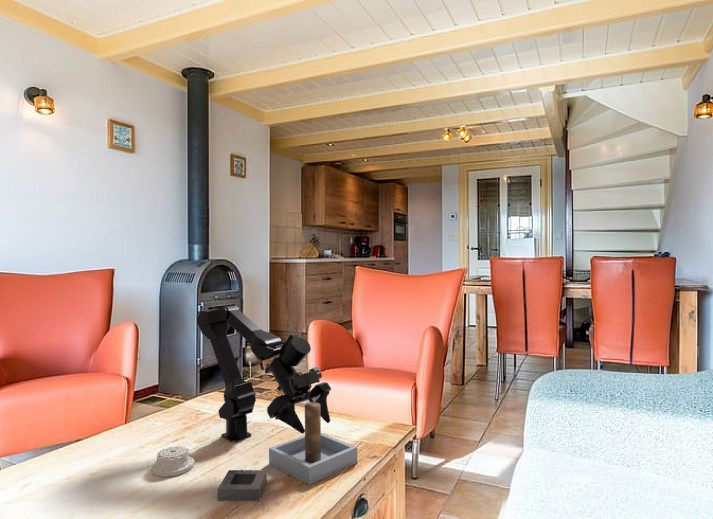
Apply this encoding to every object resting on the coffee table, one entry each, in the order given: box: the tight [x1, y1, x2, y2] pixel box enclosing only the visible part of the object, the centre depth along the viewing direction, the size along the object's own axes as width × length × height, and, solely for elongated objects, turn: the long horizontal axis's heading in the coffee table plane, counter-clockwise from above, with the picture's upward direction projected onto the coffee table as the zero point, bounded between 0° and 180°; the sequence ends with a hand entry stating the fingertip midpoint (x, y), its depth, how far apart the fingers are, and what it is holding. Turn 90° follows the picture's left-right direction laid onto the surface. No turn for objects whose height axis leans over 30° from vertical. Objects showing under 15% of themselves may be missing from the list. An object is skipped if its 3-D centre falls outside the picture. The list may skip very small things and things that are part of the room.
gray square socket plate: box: [217, 469, 268, 501], centre depth 108 cm, size 9×9×2 cm
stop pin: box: [304, 402, 322, 463], centre depth 122 cm, size 4×4×14 cm
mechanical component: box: [151, 445, 195, 478], centre depth 120 cm, size 10×4×10 cm
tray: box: [268, 432, 358, 486], centre depth 122 cm, size 16×16×4 cm
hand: (316, 427), depth 121 cm, fingers open, 9 cm apart
